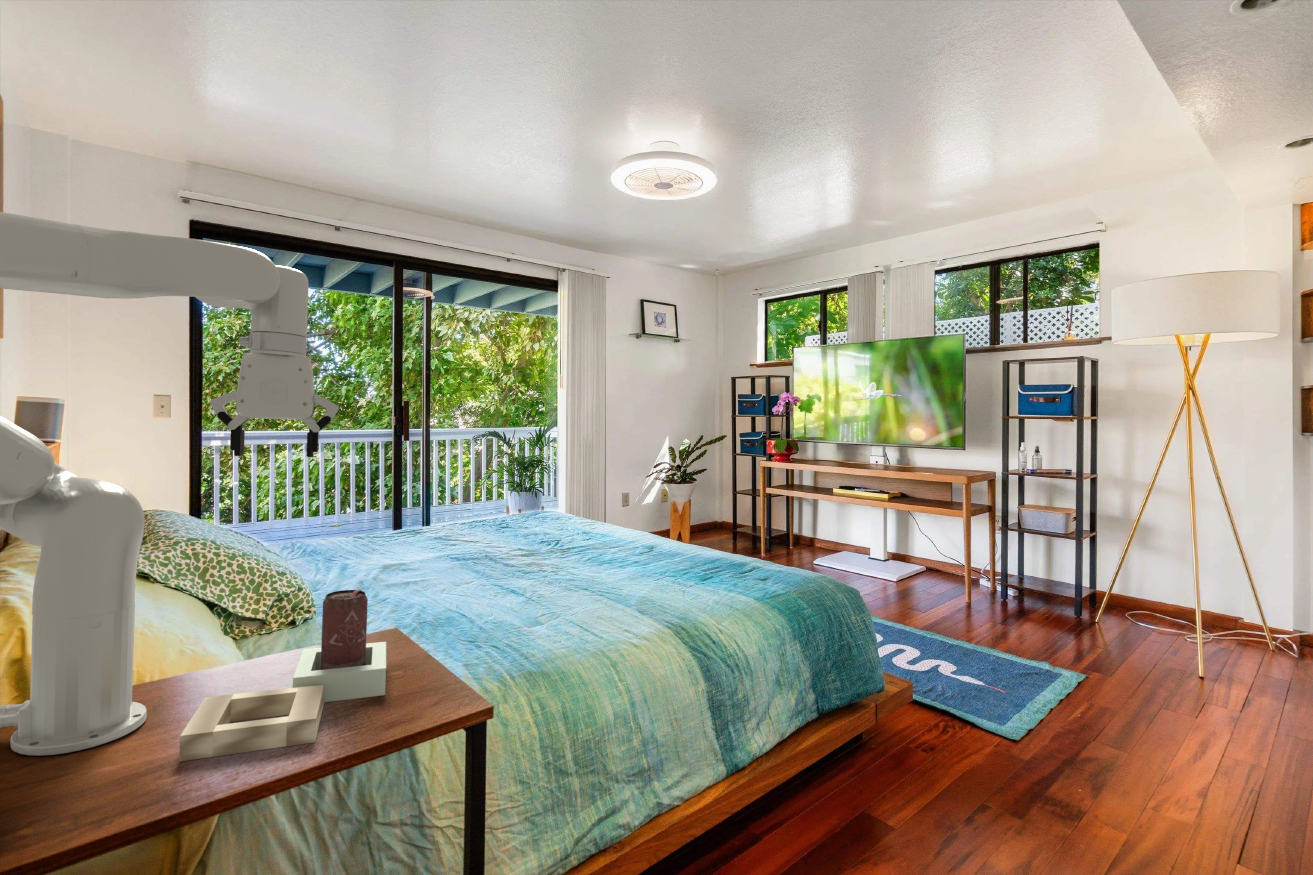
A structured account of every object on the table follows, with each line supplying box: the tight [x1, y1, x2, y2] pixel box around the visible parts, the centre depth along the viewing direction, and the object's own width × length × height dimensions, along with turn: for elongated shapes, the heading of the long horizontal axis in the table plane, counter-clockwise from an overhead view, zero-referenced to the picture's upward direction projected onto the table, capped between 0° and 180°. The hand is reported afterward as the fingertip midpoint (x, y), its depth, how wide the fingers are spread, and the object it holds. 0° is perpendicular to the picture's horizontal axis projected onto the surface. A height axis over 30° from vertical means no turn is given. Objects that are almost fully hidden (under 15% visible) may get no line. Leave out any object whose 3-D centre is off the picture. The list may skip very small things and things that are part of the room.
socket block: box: [178, 684, 325, 762], centre depth 81 cm, size 14×11×3 cm
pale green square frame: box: [292, 641, 387, 703], centre depth 96 cm, size 12×12×4 cm
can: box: [320, 589, 369, 670], centre depth 96 cm, size 6×6×14 cm
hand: (275, 456), depth 98 cm, fingers open, 9 cm apart
